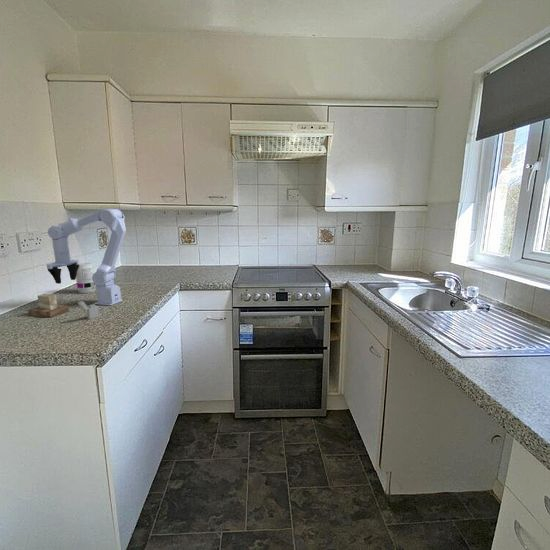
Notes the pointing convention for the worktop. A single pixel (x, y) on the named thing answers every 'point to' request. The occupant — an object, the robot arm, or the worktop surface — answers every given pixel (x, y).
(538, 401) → the worktop surface
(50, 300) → the peg
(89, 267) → the supplement can
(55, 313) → the holder
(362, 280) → the worktop surface
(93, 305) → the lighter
